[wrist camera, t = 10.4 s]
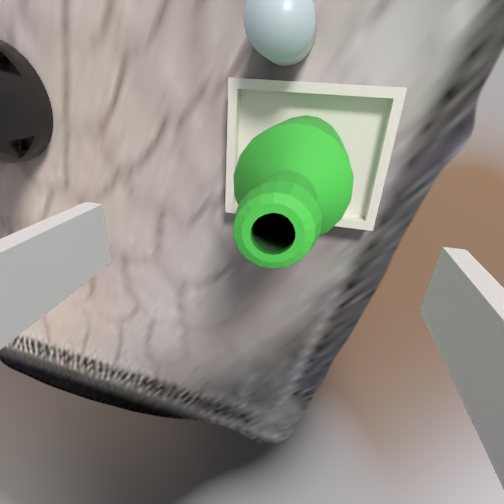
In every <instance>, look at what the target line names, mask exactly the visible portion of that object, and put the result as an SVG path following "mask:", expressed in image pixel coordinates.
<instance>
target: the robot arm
mask: <svg viewBox="0 0 504 504" xmlns="http://www.w3.org/2000/svg"><path fill="white" fill-rule="evenodd" d="M51 131H52V111H51V106H50V101H49V98H48V95H47V92H46V90H45V87H44V85H43V83H42V81H41V79H40V77H39V76H38V74H37V72H36V71H35V69H34V68H33V67H32V65H31V64H30V63H29V62H28V61H27V60H26V58H25V57H24V56H23V55H22V54H21V53H19V52H18V51H17V50H16V49H14V48H13V47H12V46H10V45H9V44H7V43H5V42H3V41H1V40H0V163H17V162H22V161H27V160H31V159H33V158H35V157H37V156H38V155H40V154H41V153H42V152H43V150H44V149H45V148H46V146H47V144H48V142H49V139H50V136H51ZM110 264H111V259H110V252H109V245H108V239H107V232H106V225H105V219H104V212H103V205H102V204H97V203H89V202H84V203H82V204H80V205H78V206H75V207H73V208H71V209H68V210H66V211H64V212H61V213H59V214H57V215H54V216H52V217H50V218H47V219H45V220H43V221H40V222H38V223H36V224H34V225H31V226H29V227H27V228H24V229H22V230H20V231H17V232H15V233H13V234H10V235H8V236H6V237H3V238H1V239H0V349H1V348H3V347H4V346H5V345H7V344H8V343H9V342H10V341H12V340H13V339H14V338H16V337H17V336H18V335H19V334H21V333H22V332H23V331H25V330H26V329H27V328H28V327H30V326H31V325H32V324H34V323H35V322H36V321H38V320H39V319H40V318H41V317H43V316H44V315H45V314H47V313H48V312H49V311H50V310H52V309H53V308H54V307H56V306H57V305H58V304H59V303H61V302H62V301H63V300H65V299H66V298H67V297H68V296H70V295H71V294H72V293H74V292H75V291H76V290H77V289H79V288H80V287H81V286H83V285H84V284H85V283H86V282H88V281H89V280H90V279H92V278H93V277H94V276H95V275H97V274H98V273H99V272H101V271H102V270H103V269H104V268H106V267H107V266H108V265H110ZM420 312H421V314H422V316H423V318H424V320H425V322H426V325H427V327H428V329H429V331H430V333H431V335H432V337H433V339H434V342H435V344H436V346H437V348H438V350H439V352H440V354H441V357H442V359H443V361H444V363H445V365H446V367H447V369H448V372H449V374H450V376H451V378H452V380H453V382H454V384H455V386H456V389H457V391H458V393H459V395H460V397H461V399H462V401H463V403H464V405H465V408H466V410H467V412H468V414H469V416H470V418H471V420H472V423H473V425H474V427H475V429H476V431H477V433H478V435H479V438H480V440H481V442H482V444H483V446H484V448H485V450H486V453H487V455H488V457H489V459H490V461H491V463H492V465H493V467H494V469H495V472H496V474H497V476H498V478H499V480H500V482H501V484H502V487H503V489H504V288H503V287H502V286H501V285H500V284H499V283H498V282H497V281H496V280H495V279H494V278H493V277H492V276H491V275H490V274H489V273H488V272H487V271H486V270H485V269H484V268H483V267H482V266H481V265H480V264H479V263H478V261H476V259H474V257H473V256H472V255H471V254H470V253H469V252H468V251H467V250H463V249H455V248H447V247H443V248H442V251H441V253H440V256H439V259H438V262H437V265H436V268H435V270H434V273H433V276H432V279H431V282H430V285H429V288H428V290H427V293H426V296H425V299H424V302H423V305H422V307H421V310H420Z"/></svg>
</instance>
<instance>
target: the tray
mask: <svg viewBox="0 0 504 504" xmlns="http://www.w3.org/2000/svg"><path fill="white" fill-rule="evenodd" d="M406 91H407V88H401V87H384V86H367V85H349V84H332V83H315V82H297V81H280V80H263V79H245V78H229V79H228V118H227V158H226V197H225V212H227V213H236V211H237V208H238V204H237V201H236V199H235V196H234V177H233V175H234V172H235V169H236V166H237V163H238V160H239V156H240V154H241V153H242V152H243V151H244V149H245V148H246V147H247V145H248V144H249V143H250V141H251V140H252V139H253V138H254V137H256V136H257V135H259V134H260V133H262V132H264V131H265V130H267V129H268V128H270V127H272V126H274V125H276V124H278V123H281V122H283V121H285V120H288V119H290V118H294V117H299V116H304V115H307V116H313V117H318V118H321V119H322V120H324V121H325V122H327V123H329V124H330V125H332V127H333V128H334V130H335V131H336V132H337V134H338V135H339V136H340V138H341V140H342V143H343V145H344V147H345V150H346V152H347V154H348V157H349V161H350V165H351V168H352V172H353V176H354V181H353V190H352V198H351V201H350V203H349V205H348V207H347V209H346V211H345V213H344V215H343V217H342V219H341V220H340V221H339V222H338V223H337V224H336V225H335V226H338V227H346V228H354V229H362V230H369V231H373V228H374V224H375V220H376V215H377V211H378V207H379V203H380V199H381V195H382V191H383V186H384V182H385V178H386V174H387V170H388V166H389V161H390V157H391V153H392V149H393V145H394V141H395V137H396V132H397V128H398V124H399V120H400V116H401V112H402V107H403V103H404V99H405V95H406Z"/></svg>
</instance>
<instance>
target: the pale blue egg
mask: <svg viewBox="0 0 504 504" xmlns="http://www.w3.org/2000/svg"><path fill="white" fill-rule="evenodd" d="M244 26H245V31H246V34H247V37H248V39H249V41H250V43H251V44H252V46H253V47H254V48H255V49H256V50H257V51H258V52H259V53H260V54H262V55H263V56H264V57H266V58H267V59H268V60H270V61H271V62H273V63H274V64H277V65H280V66H291V65H294V64H297V63H299V62H300V61H302V60H303V59H304V58H305V57H306V56H307V55H308V53H309V52H310V50H311V49H312V47H313V44H314V41H315V38H316V18H315V10H314V3H313V0H247V2H246V5H245V10H244Z"/></svg>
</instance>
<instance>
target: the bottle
mask: <svg viewBox="0 0 504 504" xmlns="http://www.w3.org/2000/svg"><path fill="white" fill-rule="evenodd" d="M233 177H234V196H235V199H236V201H237V204H238V208H237V211H236V213H235V216H234V240H235V242H236V245H237V247H238V250H239V251H240V252H241V253H242V254H243V255H244V256H245V257H246V259H248V260H249V261H251V262H253V263H255V264H256V265H258V266H262V267H267V268H272V269H273V268H283V267H287V266H289V265H292V264H294V263H296V262H298V261H299V260H300V259H302V258H303V257H304V256H305V255H306V254H308V252H309V251H310V250H311V248H312V247H313V245H314V244H315V242H316V240H317V238H318V236H321V235H323V234H325V233H327V232H328V231H329V230H330V229H331V228H332V227H334V226H335V225H336V224H337V223H338V222H339V221H340V220H341V219H342V217H343V215H344V213H345V211H346V209H347V207H348V205H349V203H350V201H351V198H352V190H353V181H354V176H353V172H352V168H351V165H350V161H349V157H348V154H347V152H346V150H345V147H344V145H343V143H342V140H341V138H340V136H339V135H338V134H337V132H336V131H335V130H334V128H333V127H332V125H330V124H329V123H327V122H325V121H324V120H322V119H321V118H318V117H313V116H307V115H304V116H299V117H294V118H290V119H288V120H285V121H283V122H281V123H278V124H276V125H274V126H272V127H270V128H268V129H267V130H265V131H264V132H262V133H260V134H259V135H257V136H256V137H254V138H253V139H252V140H251V141H250V143H249V144H248V145H247V147H246V148H245V149H244V151H243V152H242V153H241V154H240V156H239V160H238V163H237V166H236V169H235V172H234V175H233Z"/></svg>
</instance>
